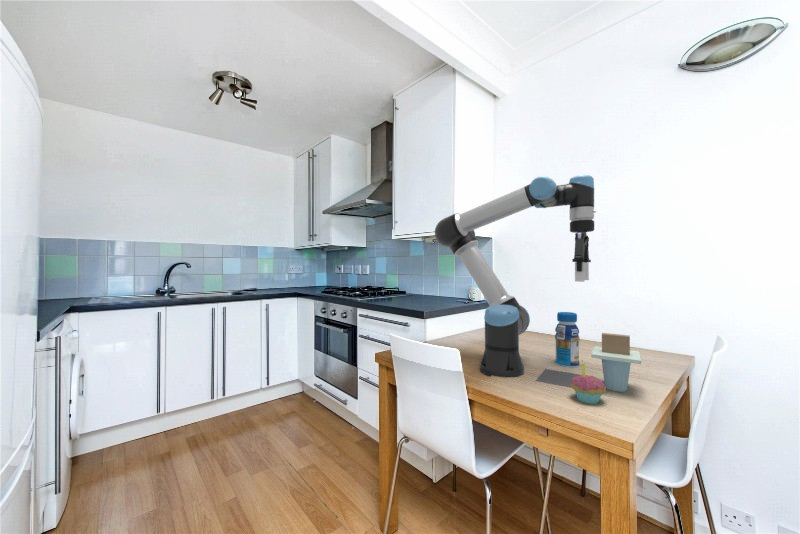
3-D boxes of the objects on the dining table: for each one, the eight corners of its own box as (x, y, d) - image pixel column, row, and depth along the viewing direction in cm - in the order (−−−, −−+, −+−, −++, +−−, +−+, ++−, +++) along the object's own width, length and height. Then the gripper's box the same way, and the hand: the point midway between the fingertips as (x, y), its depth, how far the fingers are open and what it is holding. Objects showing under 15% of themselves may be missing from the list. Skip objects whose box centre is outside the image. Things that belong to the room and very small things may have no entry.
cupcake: (591, 410, 83) (591, 364, 83) (563, 398, 91) (563, 356, 91) (612, 404, 87) (612, 360, 87) (583, 393, 94) (583, 353, 95)
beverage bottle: (552, 361, 127) (552, 311, 127) (575, 362, 125) (575, 311, 125) (558, 367, 119) (558, 314, 119) (583, 369, 117) (583, 314, 117)
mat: (535, 382, 104) (535, 380, 104) (545, 370, 116) (545, 368, 116) (588, 393, 95) (588, 391, 95) (593, 378, 107) (593, 376, 107)
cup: (637, 392, 95) (637, 357, 95) (621, 396, 92) (620, 360, 92) (611, 384, 102) (611, 351, 102) (595, 387, 99) (595, 354, 99)
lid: (591, 357, 96) (591, 335, 96) (594, 349, 106) (593, 329, 106) (641, 364, 89) (641, 341, 89) (639, 354, 99) (639, 333, 99)
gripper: (590, 214, 100) (591, 282, 100) (597, 223, 120) (597, 279, 120) (564, 217, 104) (564, 281, 104) (574, 225, 124) (575, 279, 124)
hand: (582, 280), depth 112 cm, fingers open, 13 cm apart
